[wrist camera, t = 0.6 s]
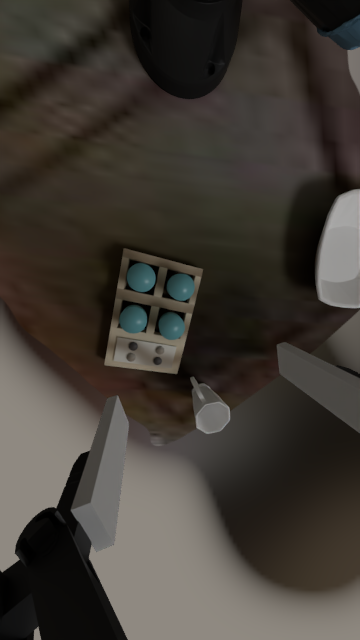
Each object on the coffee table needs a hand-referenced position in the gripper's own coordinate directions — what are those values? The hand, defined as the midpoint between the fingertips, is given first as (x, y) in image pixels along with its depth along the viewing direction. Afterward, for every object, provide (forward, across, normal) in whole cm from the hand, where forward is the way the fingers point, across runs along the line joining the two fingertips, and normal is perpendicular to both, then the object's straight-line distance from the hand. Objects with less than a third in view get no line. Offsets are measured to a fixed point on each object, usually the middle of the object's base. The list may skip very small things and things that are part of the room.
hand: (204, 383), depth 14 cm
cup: (+22, +2, -17) cm, 28 cm away
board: (+22, -3, +2) cm, 23 cm away
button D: (+20, 0, 0) cm, 20 cm away
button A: (+20, -3, +9) cm, 23 cm away
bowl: (+23, +39, +3) cm, 46 cm away
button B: (+20, +3, +6) cm, 21 cm away
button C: (+20, -6, +3) cm, 22 cm away
